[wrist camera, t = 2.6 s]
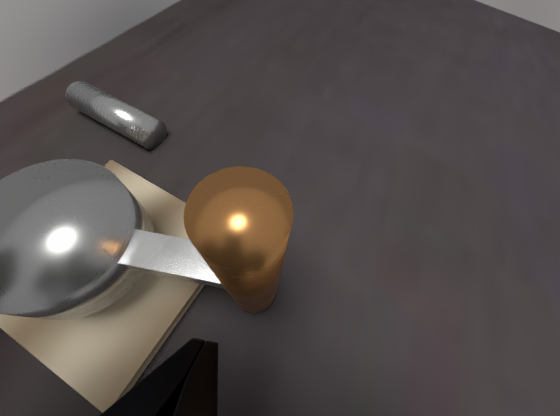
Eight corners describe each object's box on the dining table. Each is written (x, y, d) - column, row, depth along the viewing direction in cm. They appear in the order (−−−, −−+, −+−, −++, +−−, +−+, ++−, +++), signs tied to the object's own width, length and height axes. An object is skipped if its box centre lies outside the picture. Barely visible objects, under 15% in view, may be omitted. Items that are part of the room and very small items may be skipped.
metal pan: (9, 308, 14) (-425, 249, 5) (79, 197, 17) (-117, 42, 8) (263, 362, 14) (261, 397, 5) (286, 236, 17) (311, 115, 8)
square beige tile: (237, 237, 18) (233, 219, 15) (116, 410, 14) (79, 427, 11) (118, 167, 20) (95, 141, 18) (-23, 297, 16) (-82, 287, 13)
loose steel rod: (171, 126, 22) (151, 115, 19) (158, 152, 22) (137, 144, 20) (99, 89, 23) (73, 75, 21) (88, 114, 23) (60, 102, 21)
